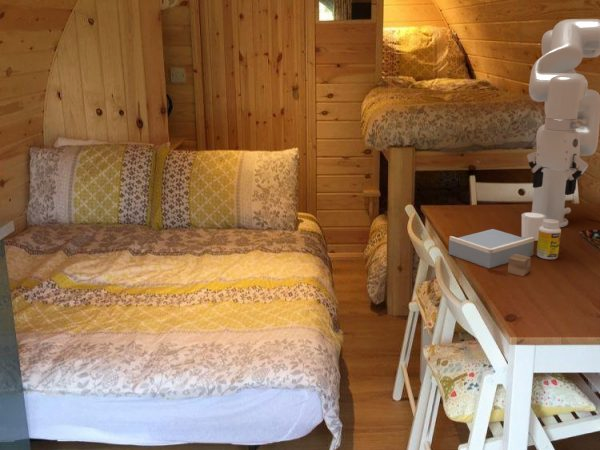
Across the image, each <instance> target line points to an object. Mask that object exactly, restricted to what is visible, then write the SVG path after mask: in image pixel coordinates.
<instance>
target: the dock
mask: <svg viewBox="0 0 600 450" xmlns="http://www.w3.org/2000/svg"><path fill="white" fill-rule="evenodd" d="M448 240H449V241H448V255H451V256H453V257H456V258H458V259H461V260H464V261H467V262H471V263H473V264H475V265H479V266H481V267H484V268H486V269H492V268H496V267H498V266H502V265H505V264H508V263H509V258H510V257H511V256H513V255H515V254H518V255H522V256H527V257H531V256H534V247H535V241H534V240H535V238H534V237H530V238H527V239H525V238H522V236H518V235H516V234H515V235H514V234H511V233H509V232H504V231H502V230H498V229H494V228H491V229H487V230H483V231H480V232H476V233H472V234H467V235H464V236H459V237H456V236H453V235H450V236H449V239H448Z"/></svg>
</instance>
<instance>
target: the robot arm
mask: <svg viewBox="0 0 600 450" xmlns="http://www.w3.org/2000/svg"><path fill="white" fill-rule="evenodd" d="M541 55H542V56H541V57H539V58H538V59H537V60H536V61H535V62H534V64H533V66H532V68H531V72H530V76H529V77H530V78H529V84H528V94H529V97H530V99H532V100H533V101H535V102H538V103H540V102H541V103H543V102H544V114H545V117H544V124H541V126H539V128H538V129H537V131H536V136H535V137H536V138H535V139H536V140H535V141H536V150H535V151H533V152H531V153H528V154H527V155H526V158H527V161H528V166H529V167H530V169H531V173H533V175H532V176H533V177H532V188H533V197H532V203H531V204H532V207H531V212H535V213H541V214H544V215H546V219H555V220H558V221H559V228H564V227H566V226H568V225H569V220H568V219H567V218H565V215H568V214H570V213H571V212H572V209H571V208H570V207H569V206H568V207H565V203H566V197H567V196H570V195H574V194H575V192H576V189H577V181H578V179H580V177H582V176H583V175H584V173H585V172H586V171H587V169H588V168H589V164H588V162H586V161H585V160H583V159H582V158H581V157H582V156H583V157H585V156H586V157H588V156H592V155H594V154H595V153H596V151H597V150H598V149H597V148H598V145H599V144H598V143H599V134H600V94H599V92H598V91H596V90H594V89H589V87H588V86H589V85H588V83H589V82H588V80H587V79H586V76H584V75H583V74H581V73H577V72H576V69H575V68H577V67H579V65H580V64H581V63H582V61H583V58H586V59H587V58H588V59H589V58H591V59H592V58H598V57H599V56H600V19H599V18H598V19H597V18H570V19H564V20H561V21H559V22H558V23H556V24H555V25H554V27H553V29H550V30H548V31H546V32H545V33H544V34H543V35H542V39H541ZM580 122H581V123H580Z"/></svg>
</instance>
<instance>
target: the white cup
mask: <svg viewBox="0 0 600 450" xmlns="http://www.w3.org/2000/svg"><path fill="white" fill-rule="evenodd" d="M544 219H546V215H544V214H541V213H535V212H532V211H531V212H529V211H528V212H523V213H521V237H522V238H525V239H527V238H530V237H534V238H535V240H534V242H535V241H537V242H538V234H539V228H540V227H541V226H543V220H544Z"/></svg>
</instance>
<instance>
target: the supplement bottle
mask: <svg viewBox="0 0 600 450" xmlns="http://www.w3.org/2000/svg"><path fill="white" fill-rule="evenodd" d="M561 234H562V229H561V227H559V221H558V220H555V219H544V220H543V226H541V227H540V228H539V234H538V240H537V244H536V245H537V247H536V256H537V257H539V258H540V259H543V260H555V259H557V258H558V256H559V252H560V251H559V250H560V243H561Z"/></svg>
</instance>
